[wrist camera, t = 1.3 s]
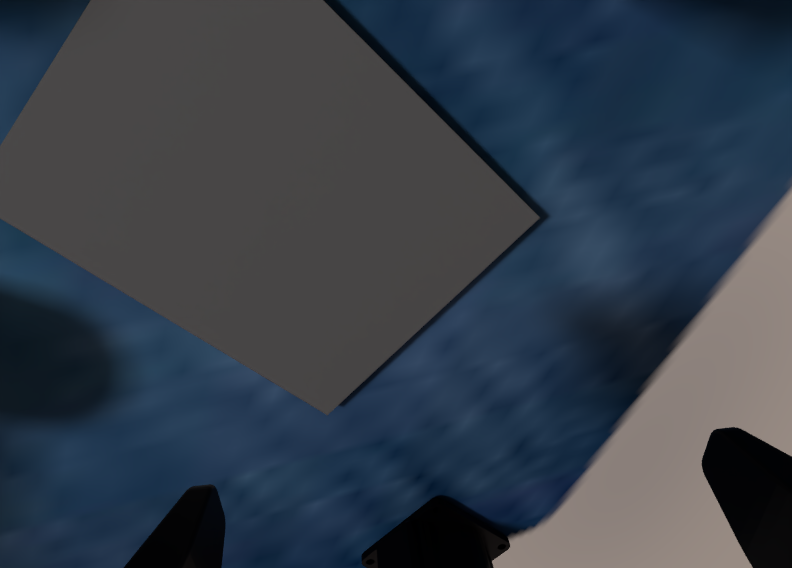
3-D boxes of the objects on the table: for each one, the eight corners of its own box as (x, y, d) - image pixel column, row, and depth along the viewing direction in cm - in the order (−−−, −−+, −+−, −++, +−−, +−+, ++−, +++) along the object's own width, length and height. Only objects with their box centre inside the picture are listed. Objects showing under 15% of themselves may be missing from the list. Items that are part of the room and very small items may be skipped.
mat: (533, 210, 21) (540, 217, 21) (327, 403, 25) (327, 415, 24) (187, -137, 15) (179, -144, 14) (-19, 191, 19) (-33, 198, 18)
